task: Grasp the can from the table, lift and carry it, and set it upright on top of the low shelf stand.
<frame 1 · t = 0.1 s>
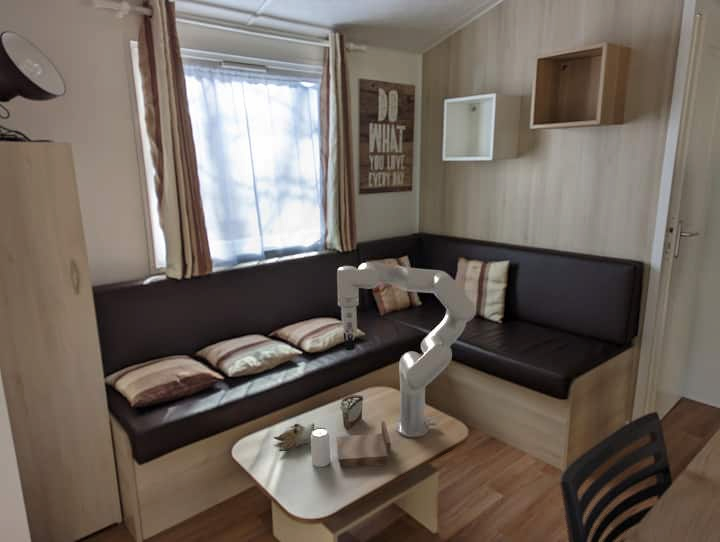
hand: (349, 344, 187), 37 cm above the table, fingers open, 9 cm apart
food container: (349, 423, 203), on the table
ceramic sculpture: (296, 445, 189), on the table
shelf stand: (362, 455, 181), on the table
can: (321, 462, 178), on the table
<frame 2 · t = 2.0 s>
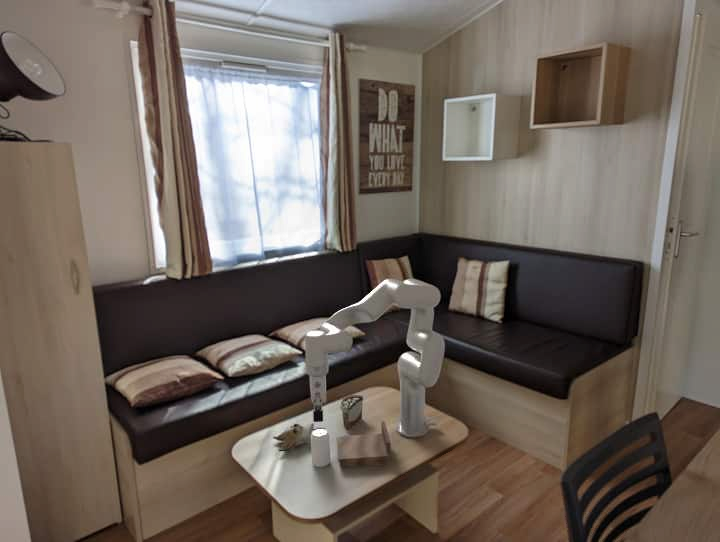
hand: (318, 414, 173), 19 cm above the table, fingers open, 9 cm apart
nothing on the table moved.
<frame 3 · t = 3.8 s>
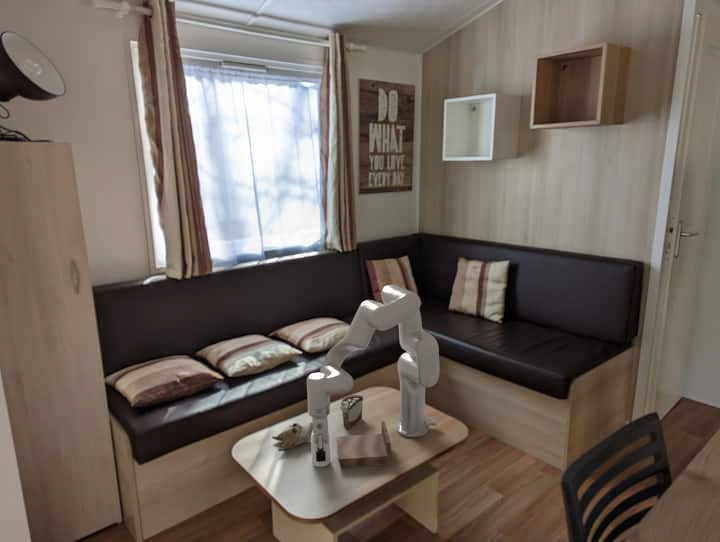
hand: (320, 454, 177), 3 cm above the table, fingers closed on can, 6 cm apart
can: (321, 462, 178), on the table, touching gripper
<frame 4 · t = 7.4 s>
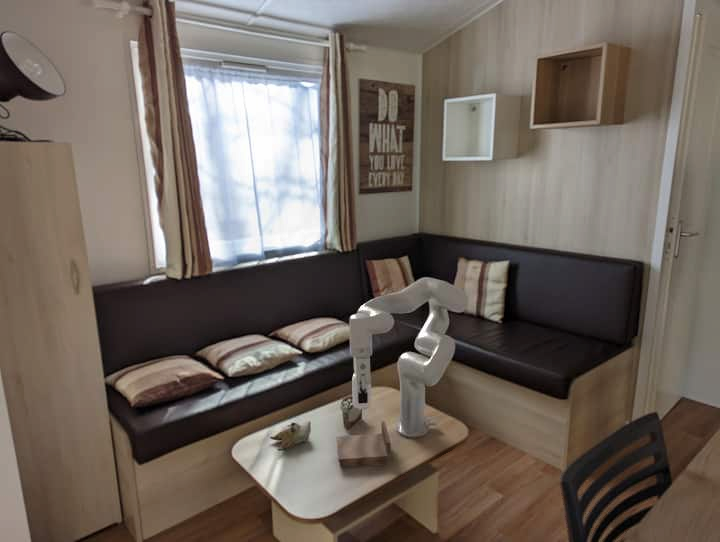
hand: (361, 397, 176), 23 cm above the table, fingers closed on can, 6 cm apart
can: (362, 405, 177), point 20 cm above the table, touching gripper
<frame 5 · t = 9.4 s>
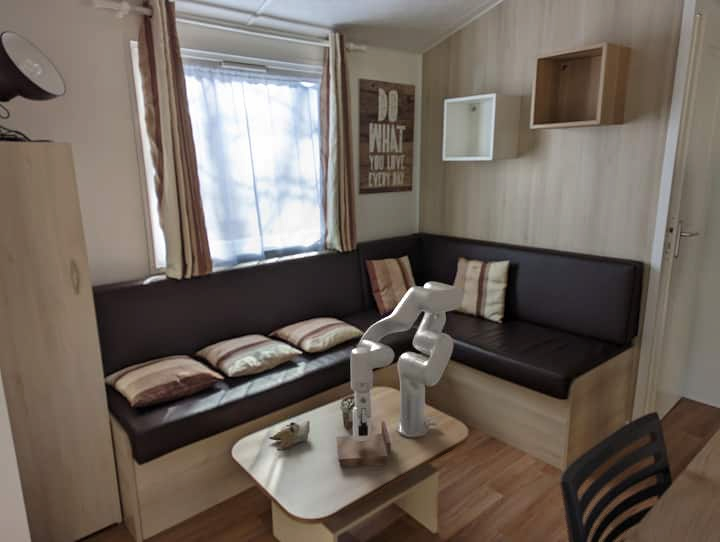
hand: (362, 429, 179), 11 cm above the table, fingers closed on can, 6 cm apart
can: (362, 437, 180), point 7 cm above the table, touching gripper
when the fingers open (8 cm above the table, at t = 10.8 s): can drops 1 cm, resting on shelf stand.
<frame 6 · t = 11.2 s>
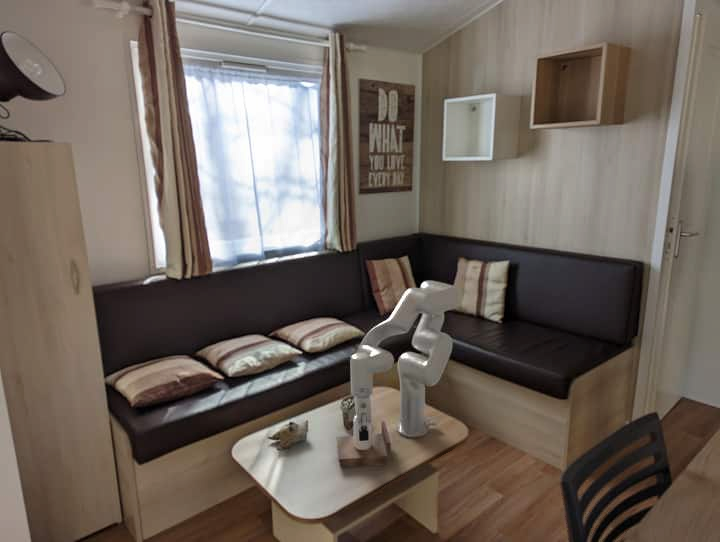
hand: (362, 432, 179), 9 cm above the table, fingers open, 9 cm apart
can: (363, 446, 181), point 4 cm above the table, touching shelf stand
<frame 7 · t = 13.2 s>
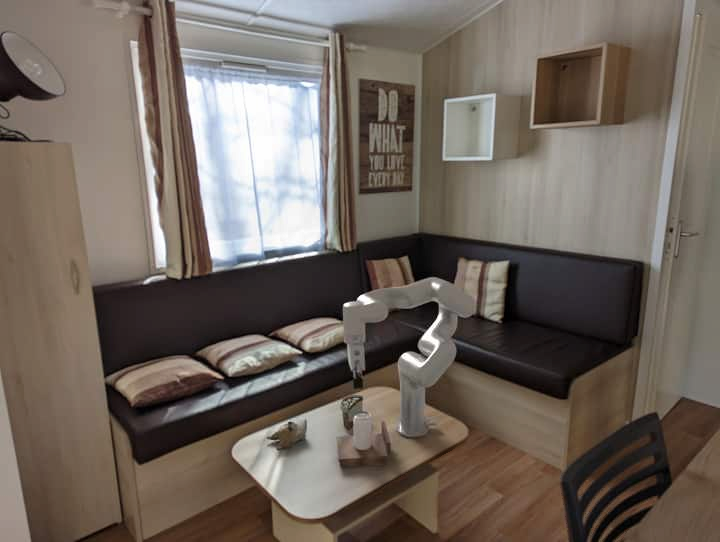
hand: (356, 381, 181), 26 cm above the table, fingers open, 9 cm apart
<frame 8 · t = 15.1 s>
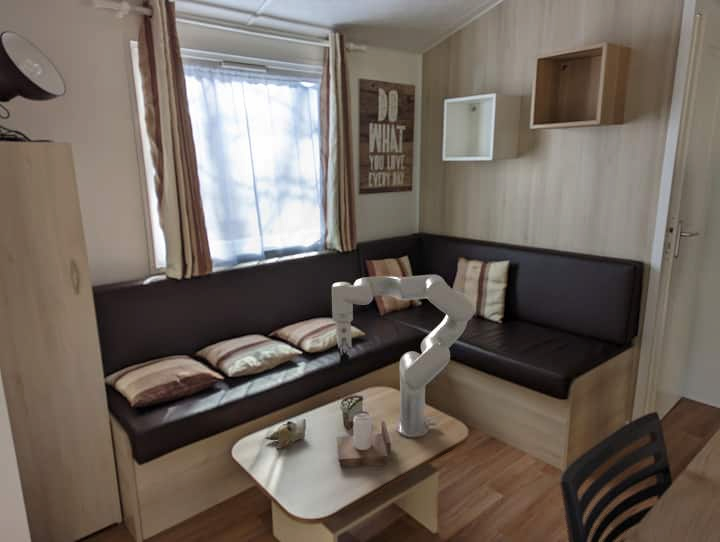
hand: (343, 358, 190), 30 cm above the table, fingers open, 9 cm apart
at the end: can inside the target area on the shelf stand (0.1 cm from its centre), point 3.8 cm above the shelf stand's base; can tilted 0°; the gripper is holding nothing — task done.
